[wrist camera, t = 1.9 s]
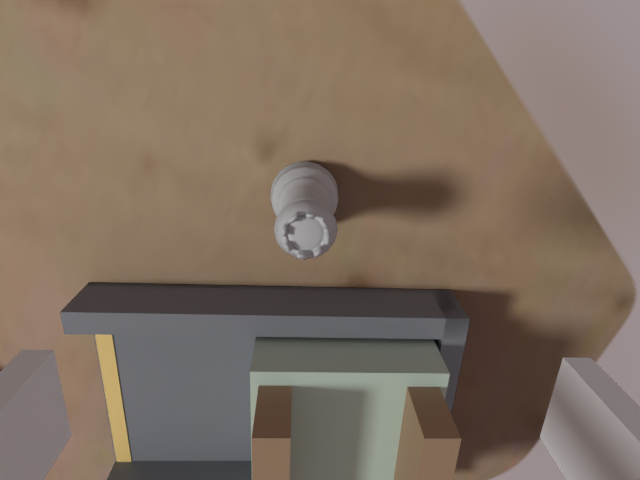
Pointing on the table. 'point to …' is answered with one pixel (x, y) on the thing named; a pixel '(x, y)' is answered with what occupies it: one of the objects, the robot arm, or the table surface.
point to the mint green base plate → (350, 410)
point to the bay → (226, 360)
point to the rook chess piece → (305, 209)
